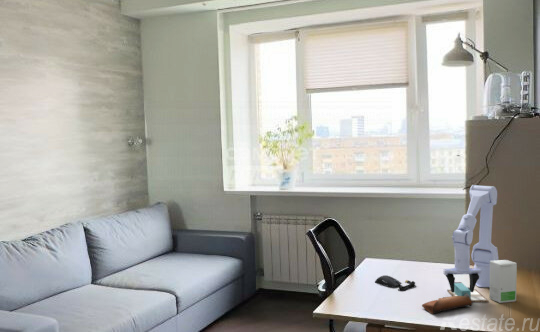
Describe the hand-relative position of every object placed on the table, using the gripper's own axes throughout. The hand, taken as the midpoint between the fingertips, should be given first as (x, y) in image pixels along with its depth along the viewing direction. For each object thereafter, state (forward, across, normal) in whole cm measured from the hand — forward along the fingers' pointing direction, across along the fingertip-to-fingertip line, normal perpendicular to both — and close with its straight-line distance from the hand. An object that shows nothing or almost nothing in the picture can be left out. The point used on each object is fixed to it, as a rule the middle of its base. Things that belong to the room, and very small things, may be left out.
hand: (462, 291), depth 212 cm
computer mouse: (+3, -23, +19) cm, 30 cm away
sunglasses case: (+2, -10, -12) cm, 16 cm away
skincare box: (+3, +15, -3) cm, 16 cm away
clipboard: (+2, +2, +1) cm, 4 cm away
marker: (+2, 0, 0) cm, 2 cm away
